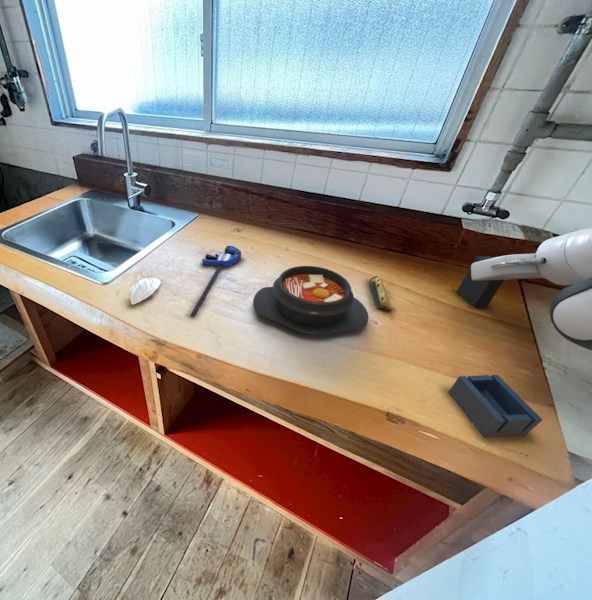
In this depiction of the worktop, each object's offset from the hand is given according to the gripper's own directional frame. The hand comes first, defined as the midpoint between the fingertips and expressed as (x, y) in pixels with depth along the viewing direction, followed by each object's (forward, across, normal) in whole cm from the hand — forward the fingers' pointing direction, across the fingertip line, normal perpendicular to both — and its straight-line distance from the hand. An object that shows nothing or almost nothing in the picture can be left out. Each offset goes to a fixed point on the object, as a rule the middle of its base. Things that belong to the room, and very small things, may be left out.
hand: (496, 275), depth 69 cm
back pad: (+7, 0, -4) cm, 8 cm away
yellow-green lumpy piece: (+10, -20, -2) cm, 23 cm away
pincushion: (+14, -78, +2) cm, 79 cm away
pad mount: (-14, -19, -25) cm, 34 cm away
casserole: (+6, -40, -6) cm, 41 cm away
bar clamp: (+17, -61, +5) cm, 63 cm away
